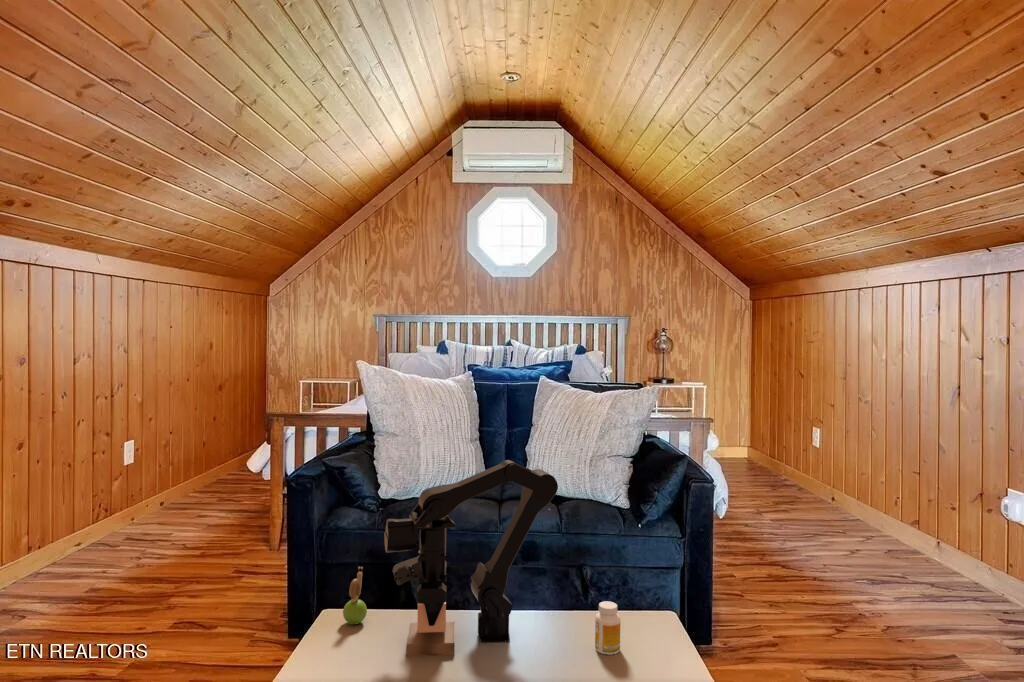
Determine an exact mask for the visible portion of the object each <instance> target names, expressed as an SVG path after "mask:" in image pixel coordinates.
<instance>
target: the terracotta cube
mask: <svg viewBox="0 0 1024 682" xmlns="http://www.w3.org/2000/svg"><path fill="white" fill-rule="evenodd" d="M416 621H417V622H416V623H417V633H423V632H446V622H447V601H446V602H445V603H444V604H443V606H442V608H441V611H440V613H439V615H438V618H437V620H436V622H435V625H434V626H429V623H428V618H427V614H426V609H425V605H424V604H419V603H417V620H416Z"/></svg>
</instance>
